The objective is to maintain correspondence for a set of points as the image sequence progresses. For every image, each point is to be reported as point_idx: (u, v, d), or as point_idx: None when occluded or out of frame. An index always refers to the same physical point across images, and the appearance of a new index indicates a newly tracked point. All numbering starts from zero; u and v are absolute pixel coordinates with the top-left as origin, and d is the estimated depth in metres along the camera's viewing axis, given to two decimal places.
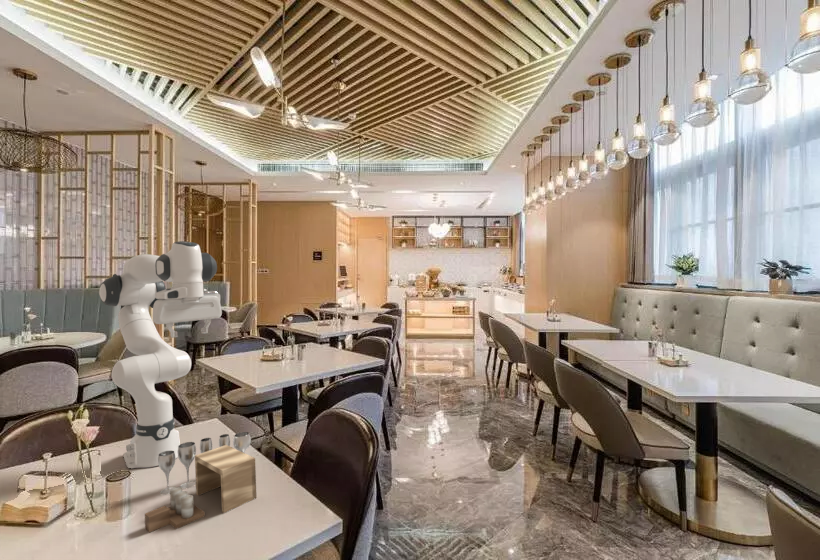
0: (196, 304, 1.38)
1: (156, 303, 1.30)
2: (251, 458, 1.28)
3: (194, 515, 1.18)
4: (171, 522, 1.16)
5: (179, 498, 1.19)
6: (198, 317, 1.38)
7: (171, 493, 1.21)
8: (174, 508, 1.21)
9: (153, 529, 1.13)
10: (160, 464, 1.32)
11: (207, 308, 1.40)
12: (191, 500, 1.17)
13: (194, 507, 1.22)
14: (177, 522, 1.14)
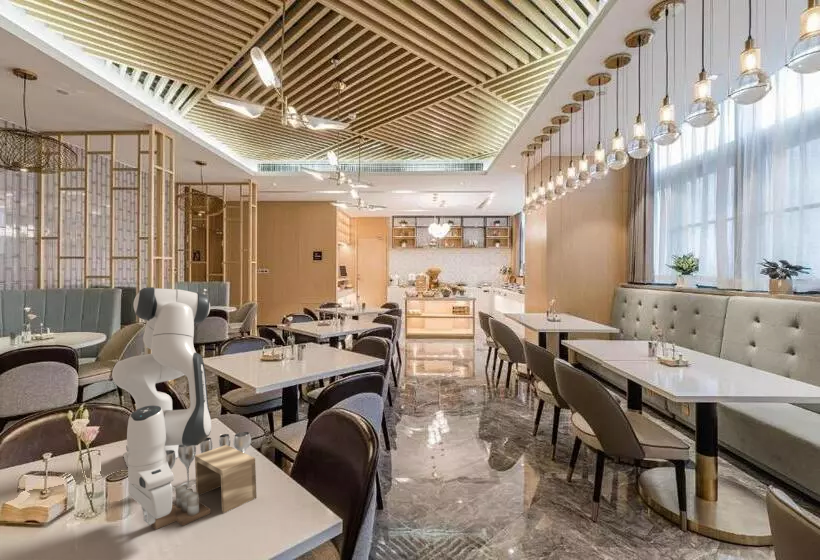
0: None
1: (160, 492, 1.07)
2: (251, 458, 1.28)
3: (200, 512, 1.19)
4: (177, 519, 1.17)
5: (185, 495, 1.20)
6: None
7: (177, 491, 1.22)
8: (180, 505, 1.22)
9: (159, 526, 1.14)
10: None
11: None
12: (197, 497, 1.19)
13: (199, 504, 1.23)
14: (183, 519, 1.16)
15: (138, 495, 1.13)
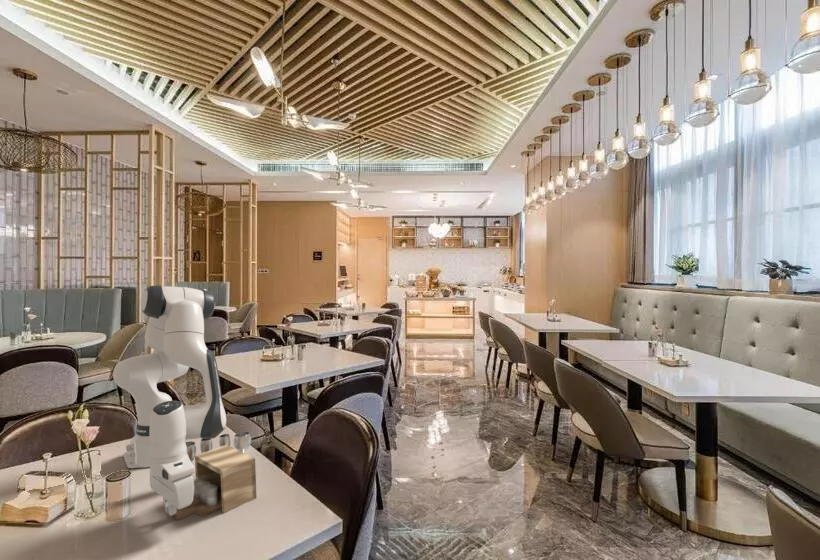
0: None
1: (182, 483, 1.11)
2: (251, 458, 1.28)
3: (218, 504, 1.23)
4: (196, 510, 1.21)
5: (203, 488, 1.24)
6: None
7: (195, 483, 1.26)
8: (198, 497, 1.26)
9: (180, 517, 1.18)
10: None
11: None
12: (215, 489, 1.23)
13: (217, 496, 1.27)
14: (203, 510, 1.20)
15: (160, 487, 1.18)
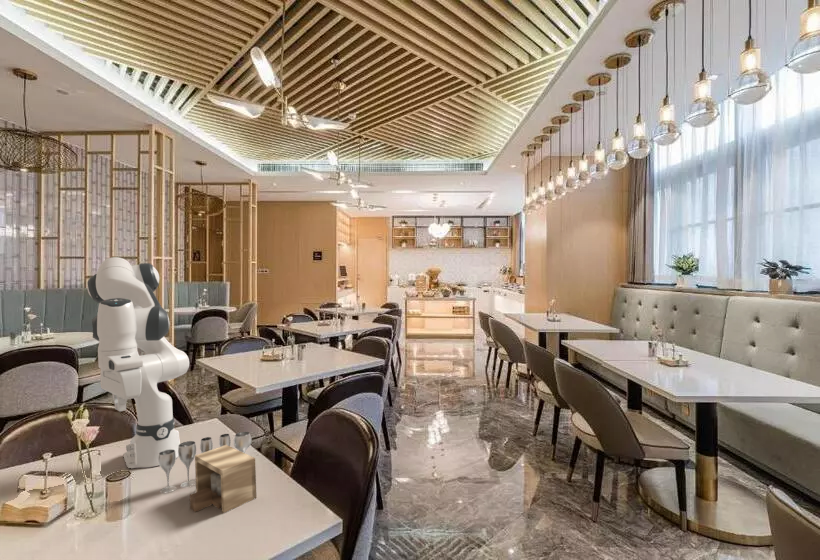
0: None
1: (129, 374, 1.10)
2: (251, 458, 1.28)
3: None
4: (213, 503, 1.25)
5: (220, 481, 1.28)
6: None
7: (212, 477, 1.30)
8: (215, 491, 1.30)
9: (198, 509, 1.22)
10: (160, 463, 1.33)
11: None
12: None
13: None
14: (220, 503, 1.24)
15: (109, 383, 1.16)
